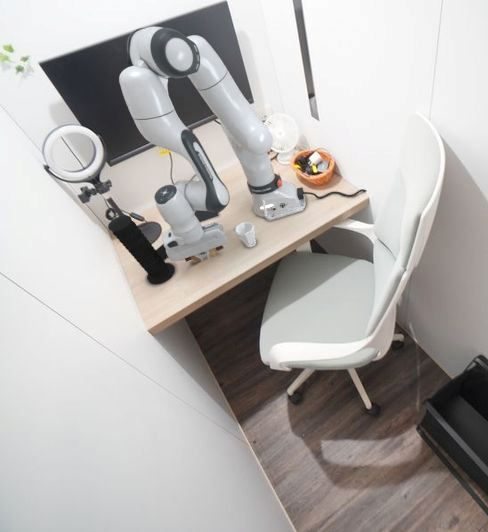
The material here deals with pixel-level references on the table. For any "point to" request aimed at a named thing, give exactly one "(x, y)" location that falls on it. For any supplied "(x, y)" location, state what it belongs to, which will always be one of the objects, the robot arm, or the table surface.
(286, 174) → the table surface
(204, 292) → the table surface
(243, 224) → the cup
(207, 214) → the mat
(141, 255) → the handle grip
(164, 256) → the smartphone
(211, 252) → the rolling pin
